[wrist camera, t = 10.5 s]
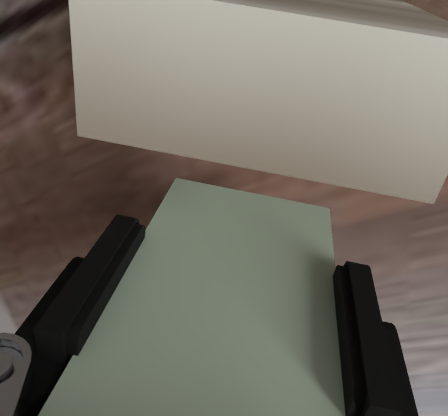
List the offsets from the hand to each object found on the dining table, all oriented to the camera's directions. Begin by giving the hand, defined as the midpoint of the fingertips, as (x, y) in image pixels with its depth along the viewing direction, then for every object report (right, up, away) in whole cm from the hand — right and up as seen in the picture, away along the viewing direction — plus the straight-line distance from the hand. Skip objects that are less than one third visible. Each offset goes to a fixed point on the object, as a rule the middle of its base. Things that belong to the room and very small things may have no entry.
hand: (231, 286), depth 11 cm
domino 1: (+2, +9, +3) cm, 9 cm away
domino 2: (+1, +2, +3) cm, 3 cm away
